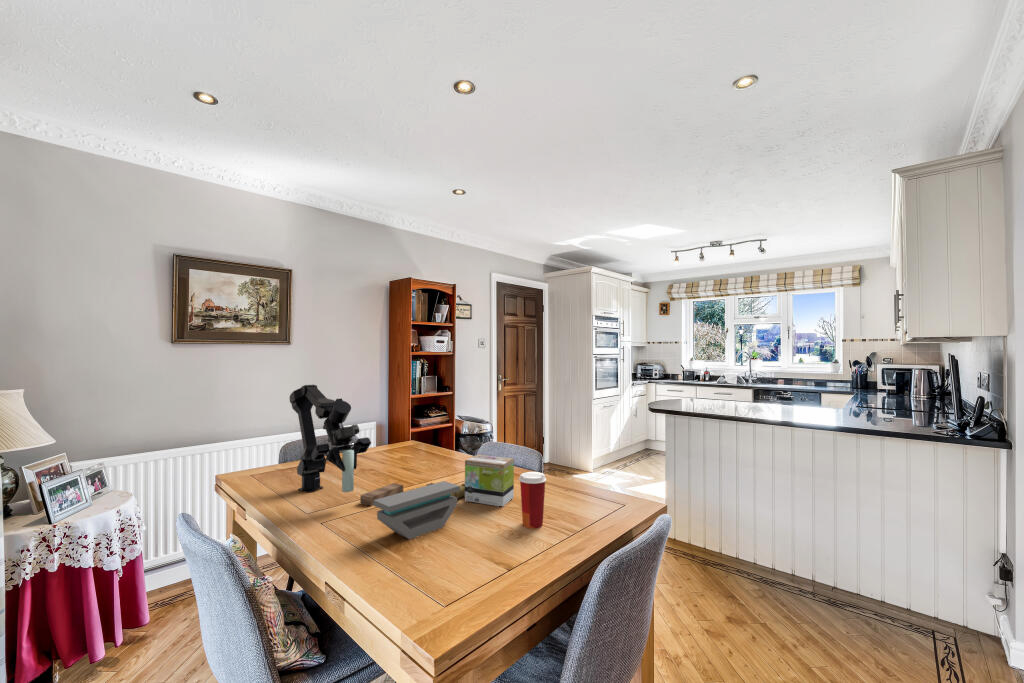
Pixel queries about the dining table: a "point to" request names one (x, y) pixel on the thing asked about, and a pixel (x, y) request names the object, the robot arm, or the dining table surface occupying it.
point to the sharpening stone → (418, 509)
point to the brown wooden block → (380, 493)
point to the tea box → (489, 480)
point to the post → (348, 471)
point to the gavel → (457, 494)
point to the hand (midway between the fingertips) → (349, 469)
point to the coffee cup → (532, 498)
